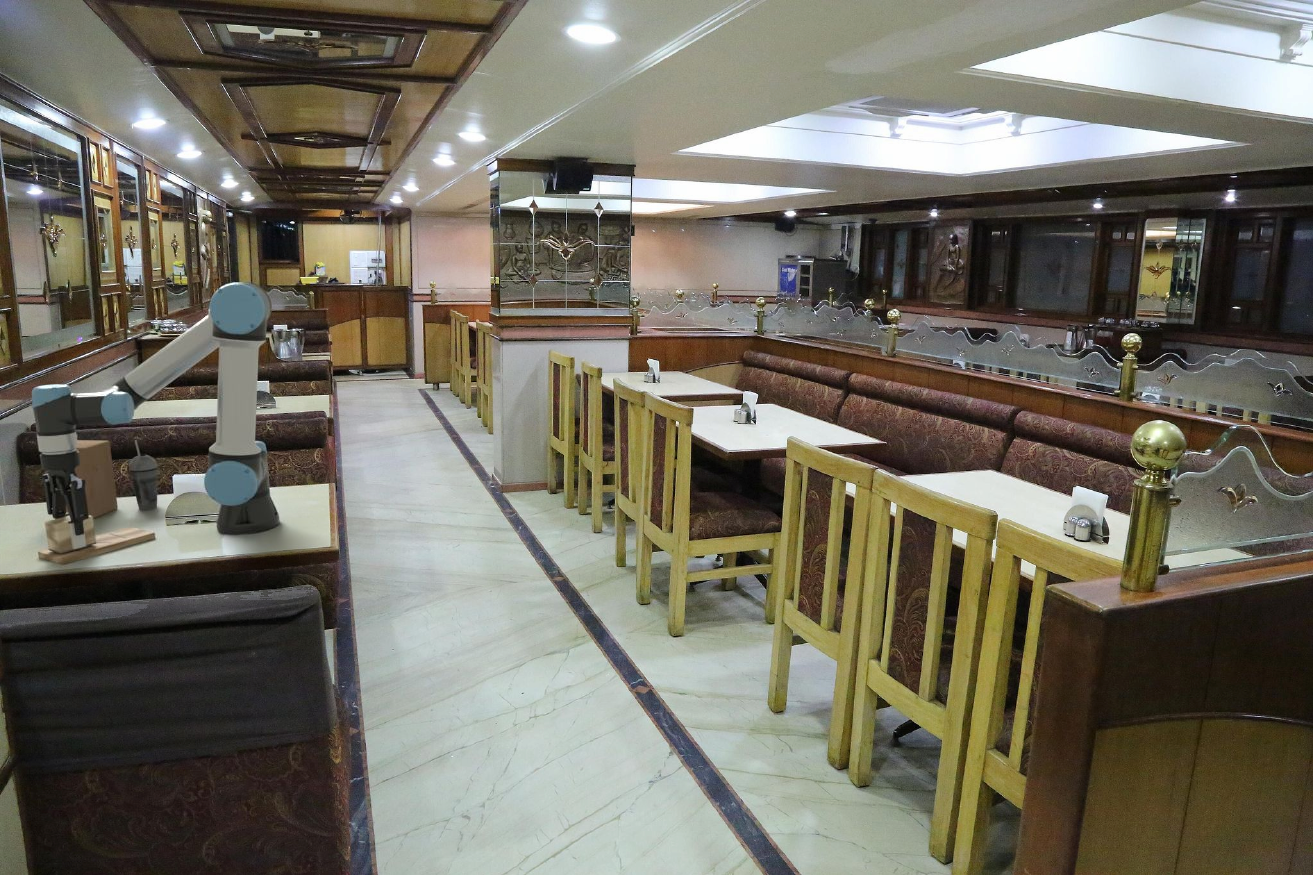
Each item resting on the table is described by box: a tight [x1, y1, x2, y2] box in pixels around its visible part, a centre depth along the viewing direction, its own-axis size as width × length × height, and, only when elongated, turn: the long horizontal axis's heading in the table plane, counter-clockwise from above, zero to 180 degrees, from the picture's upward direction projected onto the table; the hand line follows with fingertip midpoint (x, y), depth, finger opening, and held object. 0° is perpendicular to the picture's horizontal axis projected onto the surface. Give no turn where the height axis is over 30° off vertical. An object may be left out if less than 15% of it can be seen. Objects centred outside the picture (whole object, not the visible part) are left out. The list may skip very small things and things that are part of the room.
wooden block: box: [64, 439, 119, 519], centre depth 232 cm, size 10×10×20 cm
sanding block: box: [44, 515, 96, 553], centre depth 200 cm, size 5×8×7 cm, turn 153°
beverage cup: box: [128, 440, 159, 511], centre depth 238 cm, size 7×7×20 cm
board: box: [37, 526, 156, 565], centre depth 206 cm, size 10×22×2 cm, turn 153°
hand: (72, 545), depth 201 cm, fingers closed on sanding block, 5 cm apart
